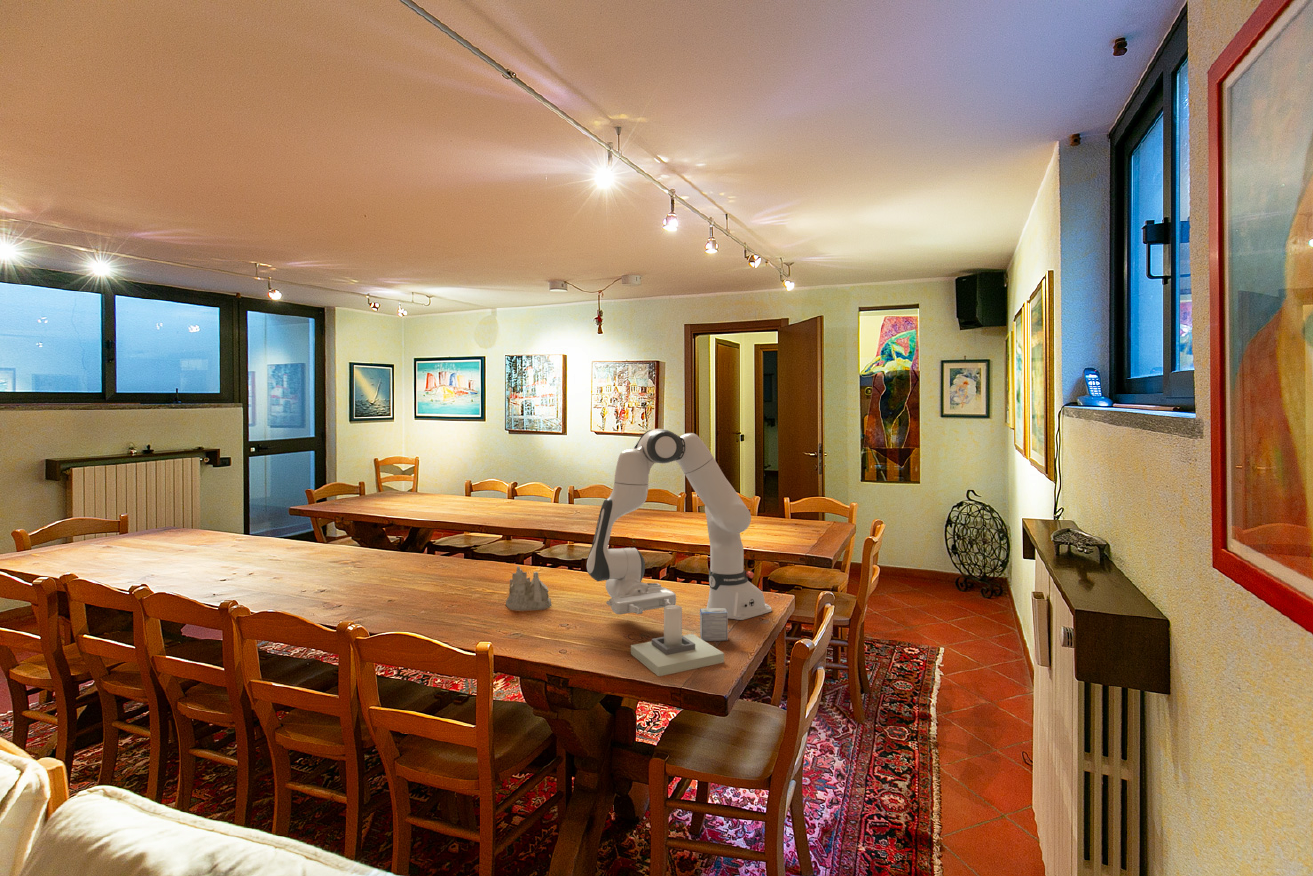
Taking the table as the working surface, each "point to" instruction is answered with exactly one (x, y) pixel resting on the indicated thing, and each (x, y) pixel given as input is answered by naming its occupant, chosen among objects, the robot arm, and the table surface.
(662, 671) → the slab with grey frame
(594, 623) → the table surface
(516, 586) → the stone castle model
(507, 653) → the table surface
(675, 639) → the white rounded capsule
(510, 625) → the table surface
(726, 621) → the medicine box
